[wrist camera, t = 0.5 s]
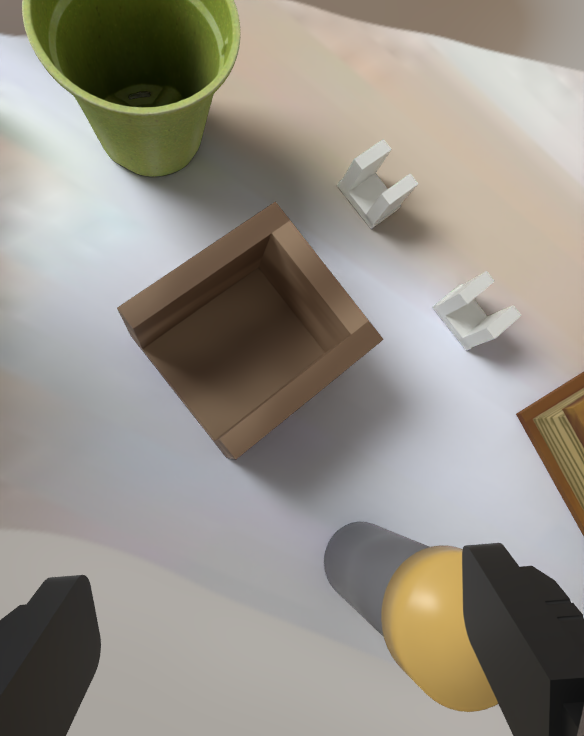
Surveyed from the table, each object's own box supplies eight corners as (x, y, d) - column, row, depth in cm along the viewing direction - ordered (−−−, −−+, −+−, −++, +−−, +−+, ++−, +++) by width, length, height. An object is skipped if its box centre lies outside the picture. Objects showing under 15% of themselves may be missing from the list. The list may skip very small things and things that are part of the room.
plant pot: (97, 222, 30) (62, 133, 22) (46, 78, 31) (-8, -62, 22) (247, 183, 32) (269, 89, 24) (196, 50, 33) (199, -88, 24)
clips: (337, 185, 33) (352, 157, 30) (363, 167, 34) (382, 137, 31) (466, 350, 33) (495, 340, 30) (490, 329, 34) (522, 316, 31)
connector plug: (299, 556, 29) (372, 627, 18) (365, 496, 31) (474, 525, 19) (355, 628, 29) (466, 746, 18) (419, 564, 31) (561, 635, 19)
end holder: (130, 335, 29) (116, 307, 23) (259, 247, 32) (275, 201, 26) (226, 457, 29) (235, 459, 23) (347, 359, 32) (383, 339, 26)
